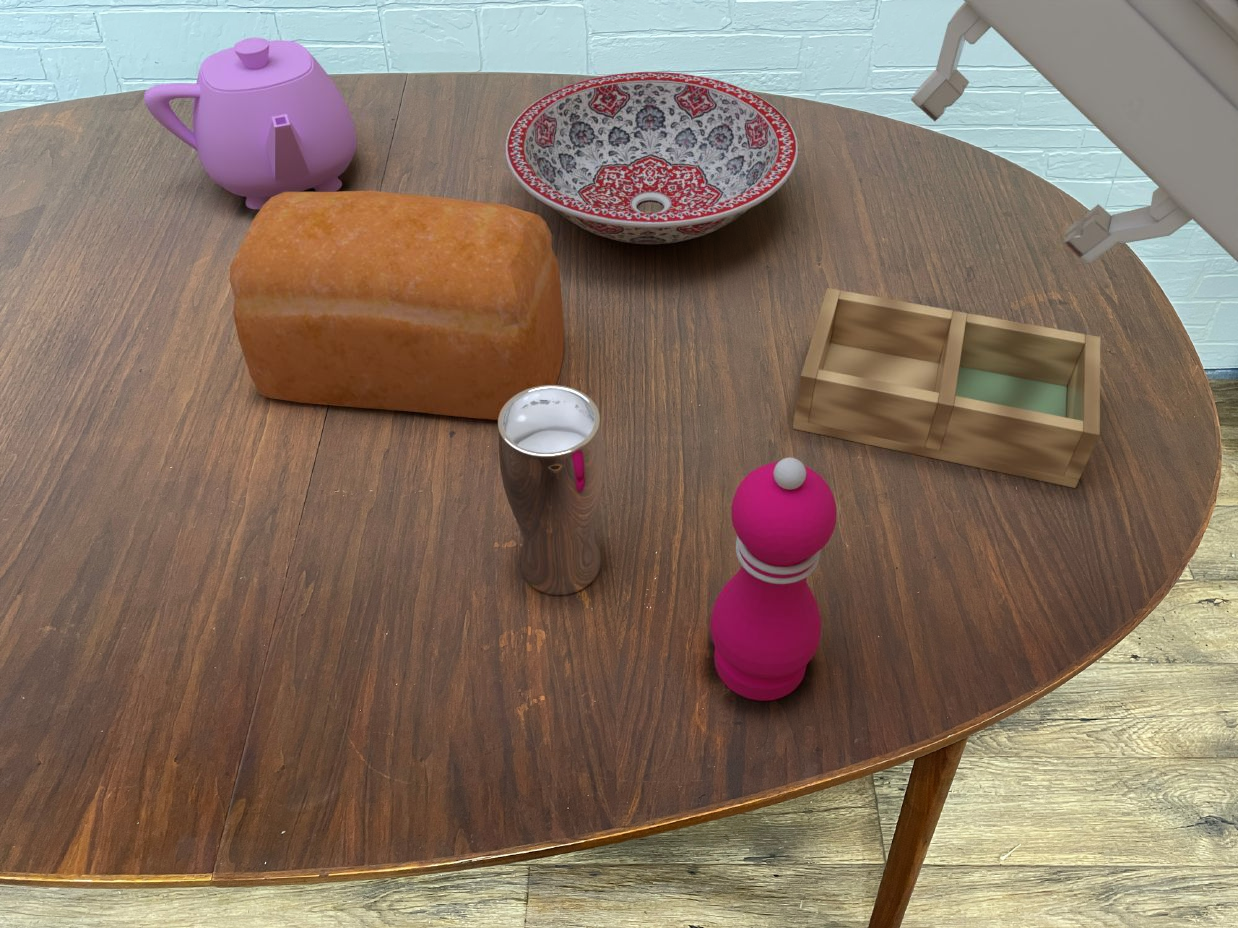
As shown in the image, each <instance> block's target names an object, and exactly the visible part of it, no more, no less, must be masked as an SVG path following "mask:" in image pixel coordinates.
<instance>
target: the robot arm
mask: <svg viewBox="0 0 1238 928" xmlns="http://www.w3.org/2000/svg"><path fill="white" fill-rule="evenodd" d="M991 28H992V29H993V30H994V31H995V32H996V33H997V34H998V35H999V36H1000V37H1002V39H1003V40H1004V41H1006V42H1007V43H1008V45H1010V46H1011V47H1012V48H1013V49H1014V50H1015V51H1016V52H1017V53H1018V54H1019V55H1020V56H1021V57H1022V58H1023V59H1024V60H1025V61H1026V62H1028V64H1029V65H1031V66H1032V68H1034V70H1036V71H1037V72H1038V73H1039V74H1040V75H1041V76H1042V77H1043V78H1044V79H1045V80H1046V81H1047V82H1048V83H1050V85H1052V86H1053V88H1054V89H1056V90H1057V91H1058V92H1059V93H1060V94H1061V95H1062V96H1063V97H1064V98H1065V99H1066V100H1067V101H1068V102H1069V103H1070V104H1071V105H1073V107H1075V109H1077V110H1078V112H1080V113H1081V114H1082V116H1084V117H1085V118H1086V119H1087V120H1088V121H1089V122H1091V124H1092V125H1094V126H1095V128H1097V129H1098V130H1099V131H1100V132H1101V133H1102V134H1103V135H1104V136H1105V137H1106V138H1107V139H1108V140H1109V141H1110V142H1111V143H1112V144H1113V145H1114V146H1115V147H1116V148H1118V150H1120V152H1121V153H1123V154H1124V155H1125V157H1127V158H1128V159H1129V160H1130V161H1131V162H1132V163H1133V164H1134V165H1135V166H1136V167H1137V168H1138V169H1139V170H1141V172H1142V173H1144V174H1145V175H1146V176H1147V177H1148V178H1149V179H1150V180H1151V181H1152V182H1153V183H1154V184H1155V185H1156V186H1157V188H1156V189H1154V191H1152V194H1151V195H1152V196H1151V202H1150V205H1147V206H1144V207H1139V208H1135V209H1131V210H1127V211H1123V212H1119V213H1115V214H1112V215H1111V214H1110V213H1109V212H1108V211H1107V210H1106V209H1105V208H1104V207H1102V206H1101V205H1100V204H1099V203H1097V204H1096V205H1095V206H1094V207H1092V208H1091V209H1090V210H1089V211H1087V212H1086V213H1085V217H1084V219H1078V220H1076V221H1075V222H1073V224H1072V225H1070V226H1069V228H1068V229H1067V230H1066V232H1065V233H1064V237H1065V238H1064V239H1063V242H1062V244H1064V246H1066V247H1067V248H1068V249H1069V250H1070V251H1071V252H1072V253H1073V254H1074V255H1075V256H1076V257H1077V258H1078V259H1079V260H1081V261H1082V262H1083V264H1084V265H1089V264H1091V263H1093V262H1094V261H1096V260H1097V259H1099V257H1101V256H1102V255H1103V254H1105V253H1106V252H1107V251H1109V250H1111V248H1113V247H1114V246H1116V245H1117V244H1118V243H1119V244H1120V245H1123V244H1129V243H1133V242H1135V243H1136V242H1140V241H1141V242H1142V241H1146V240H1151V239H1152V240H1153V239H1157V238H1163V237H1169V236H1172V235H1173V234H1175V232H1177V231H1178V230H1179V229H1181V228H1182V227H1184V226H1185V225H1187V224H1188V223H1189V222H1191V221H1194V222H1195V223H1196V224H1197V225H1198V226H1199V227H1200V228H1201V229H1202V230H1203V231H1205V233H1206V234H1207V235H1208V236H1209V237H1211V238H1212V239H1213V240H1214V242H1215V243H1217V244H1218V245H1219V246H1220V247H1221V248H1222V249H1223V250H1224V251H1225V252H1226V253H1227V254H1229V256H1231V258H1232V259H1233V260H1234V261H1236V262H1237V263H1238V0H963V3H962V4H961V6H960V7H958V9H957V10H956V11H955V13H954V14H953V16H952V17H951V18H950V20H949V21H948V23H947V25H946V29H945V33H944V37H943V41H942V45H941V48H940V53H939V56H938V59H937V64H936V67H935V70H934V71H933V72H932V73H931V74H930V75H929V76H928V77H927V78H926V79H925V80H923V82H922V84H921V85H920V86H919V87H918V88H917V90H916V91H915V92H914V94H913V95H912V96H911V98H910V101H911V102H912V103H913V104H914V105H915V106H916V107H917V108H919V109H920V110H921V111H922V112H923V113H925V114H926V115H927V116H928V117H929V118H930V119H931V120H933V122H937V120H938V119H940V118H941V117H942V116H943V115H944V113H945V112H946V110H947V108H948V107H952V106H953V104H954V103H956V102H957V101H958V99H960V98H961V97H962V95H963V94H964V92H965V90H966V88H967V87H968V85H969V83H970V81H969V80H968V78H966V77H965V76H964V75H963V74H962V73H961V72H960V71H959V70H958V66H959V63H960V59H961V56H962V54H963V53H962V52H963V49H964V46H965V43H966V42H967V43H968V44H969V45H975V44H976V43H977V42H978V41H980V39H981V38H982V37H983V36H984V35H985V34H986V33H987V32H988V31H989V30H990V29H991Z"/></svg>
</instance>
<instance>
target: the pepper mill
mask: <svg viewBox="0 0 1238 928" xmlns="http://www.w3.org/2000/svg"><path fill="white" fill-rule="evenodd" d="M730 511H731V515H730V516H731V523H732V527H733V529H734V531H735V533H736V542H735V554H736V557H737V559H738V561H739V563H740V565H741V567H740V569H739V570H738V571H737V572H736V573H735V574H734V575H733V576H732V577H731V578H730V579H729V580H728V581H727V582H726V583H725V584H724V586H723V587H722V589H720V592H719V594H718V595H717V598H716V599H715V601H714V604H713V607H712V612H711V616H710V622H709V630H710V635H711V640H712V643H713V645H714V648H715V649H714V655H713V656H714V657H713V658H714V660H713V661H714V667H715V670H716V673H717V675H718V677H719V678H720V680H721V681H722V682H723V684H724V685H725V686H726V687H727V689H729V690H731V691H732V692H733V693H735V694H737V695H738V696H741V697H743V698H746V699H749V700H753V701H759V702H763V701H766V702H767V701H774V700H778V699H781V698H785V696H787V695H789V694H791V693H792V692H794V691H795V690H796V689H797V688H798V686H799V685H800V684H801V683H802V681H803V679H804V677H805V675H806V668H807V665H808V664H809V662H810V661H811V660H812V658H813V657H814V656H815V654H816V652H817V651H818V648H819V645H820V642H821V635H822V617H821V612H820V609H819V604H818V602H817V599H816V597H815V595H814V593H813V591H812V590H811V588H810V586H809V584H808V582H807V577H809V576H810V575H811V574H812V573H813V572H814V571H815V569H817V566H818V564H819V561H820V558H821V557H820V556H821V551H822V549H823V548H824V547H825V546H826V545H827V544H828V542H829V541H830V539H831V538H832V536H833V534H834V530H835V528H836V524H837V518H838V517H837V516H838V514H837V504H836V499H835V496H834V492H833V491H832V489H831V487H830V485H829V484H828V483H827V481H826V480H825V479H824V477H823V476H821V475H820V474H819V473H817V472H816V471H814V470H813V469H812V468H810V467H808V466H806V465H804V464H803V462H802V461H800V460H799V459H797V458H796V457H784V458H781V459H780V461H773V462H768V463H765V464H763V465H761V466H759V467H757V468H755V469H753V470H751V471H749V473H747V475H746V476H745V477H743V479H742V480H741V481H740V483H739V485H738V486H737V488H736V490H735V493H734V495H733V498H732V502H731V510H730Z"/></svg>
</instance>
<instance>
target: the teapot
mask: <svg viewBox="0 0 1238 928" xmlns="http://www.w3.org/2000/svg"><path fill="white" fill-rule="evenodd" d="M187 98H188V99H193V104H192V131H193V132H192V131H191V129H189V127H187V126H186V125H185V124H184V122H182V121H181V119H180V118H179V117H178V115H176V113H175V112H174V110H173V108H171V105H170V101H172V100H176V99H187ZM143 102H144V103H145V106H146V108H147V110H148V111H149V113H150V114H151V116H152V117H153V118H154V119H155V120H156V121H157V122H158V123H159V124H160V125H161V126H162V127H164V128H165V129H166V130H167V131H169V132H170V133H171V134H173V135H174V136H175V137H177V138H178V139H180V140H181V141H182V142H184V143H185V144H186V145H188V146H189V147H191V148H192V149H194V150H195V151H196V153H197V156H198V160H199V162H200V165H201V166H202V168H203V169H204V171H205V172H206V173H207V175H208V176H209V177H210V178H211V180H213V181H214V182H215V183H216V184H218V185H219V186H220V187H221V188H223V189H224V190H226V191H228V192H229V193H231V194H233V195H236V196H239V197H246V199H245V206H246V207H247V208H249V209H251V210H260V209H261V208H262V206H263V205H264V204H265V203H266V202H267V201H268V200H269V199H270V198H271V197H274V196H276V195H278V194H280V193H283V192H304V191H307V190H310V189H313V190H314V191H315V192H338V191H339V190H340V189H341V188H342V186H343V183H342V180H341V179H339V176H341V175H342V174H343V173H344V172H345V171H346V170H347V169H348V167H349V166H350V164H351V162H352V160H353V158H354V156H355V153H356V150H357V147H358V136H357V130H356V127H355V123H354V122H355V121H354V120H353V117H352V114H351V112H350V110H349V107H348V105H347V103H346V101H345V98H344V96H343V95H342V93H341V92H340V89H339V88H338V87H337V85H336V83H335V82H334V80H332V78H331V77H330V75H329V74H328V72H327V71H326V70H325V69H324V68H323V66H322V65H321V64H320V63H319V62H318V60H317V59H316V58H315V56H314V55H312V54H311V52H310V51H309V50H308V49H307V48H306V47H305V46H304V45H302V44H300V43H299V42H296V41H293V40H283V39H282V40H281V39H280V40H267V39H266V38H262V37H249V38H244V39H242V40H239V41H237V42H236V43H235V44H234V45H233V47H229V48H226V49H225V48H224V49H222V50H219V51H218V52H215V53H213V54H210V55H209V56H207V57H206V58H204V60H203V61H202V63H201V64H200V66H199V71H198V75H197V78H196V83H189V82H186V83H185V82H184V83H183V82H177V83H176V82H174V83H163V84H162V83H161V84H156V85H153V86H150V87H149V88H148V89H146V91H145V92H144V95H143Z"/></svg>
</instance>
